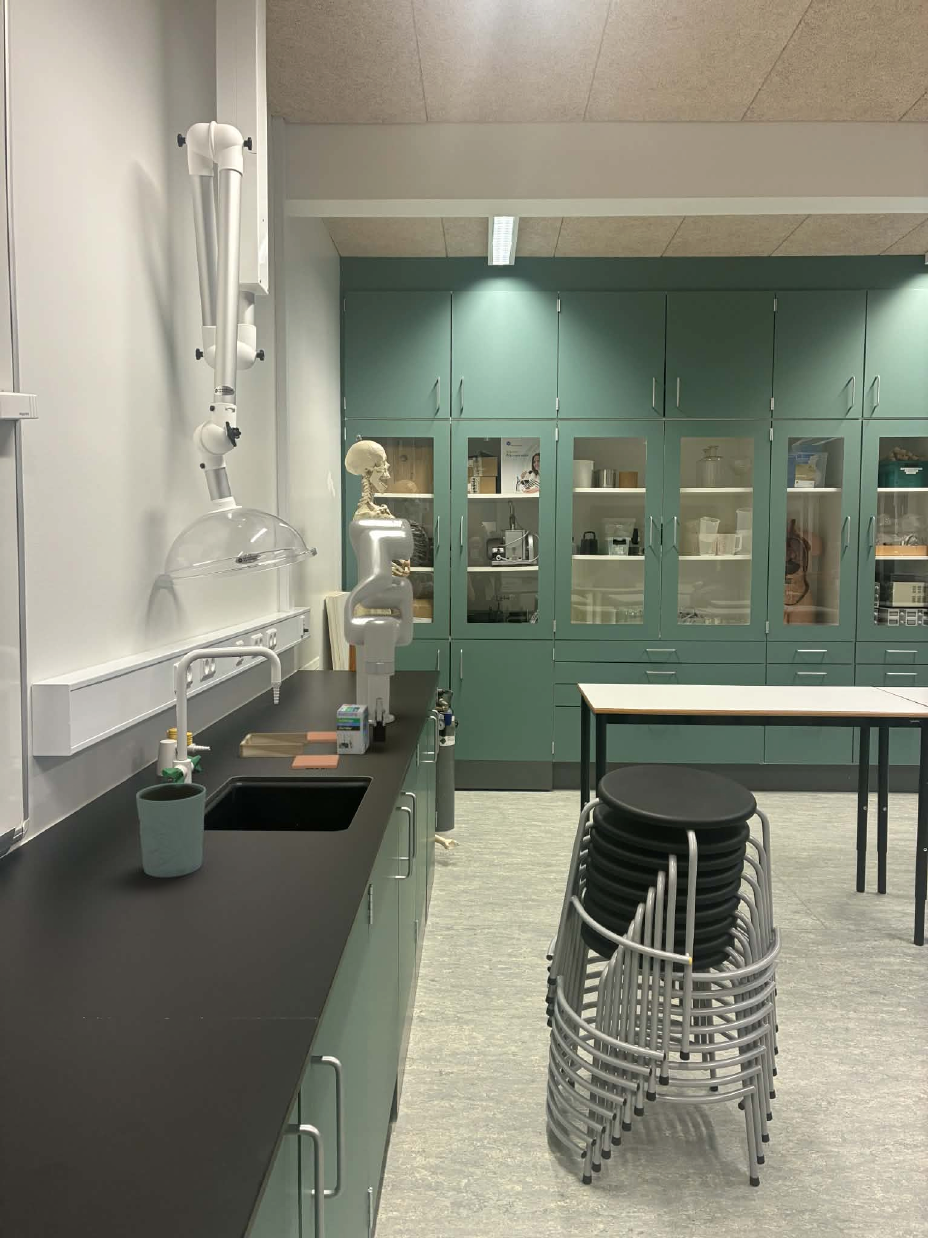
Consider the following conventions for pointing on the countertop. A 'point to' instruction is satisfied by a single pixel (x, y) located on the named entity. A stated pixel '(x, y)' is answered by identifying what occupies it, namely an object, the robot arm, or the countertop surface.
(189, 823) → the teal cup
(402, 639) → the robot arm
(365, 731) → the light bulb box
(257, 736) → the wooden tray
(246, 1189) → the countertop surface
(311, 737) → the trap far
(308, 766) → the plate
